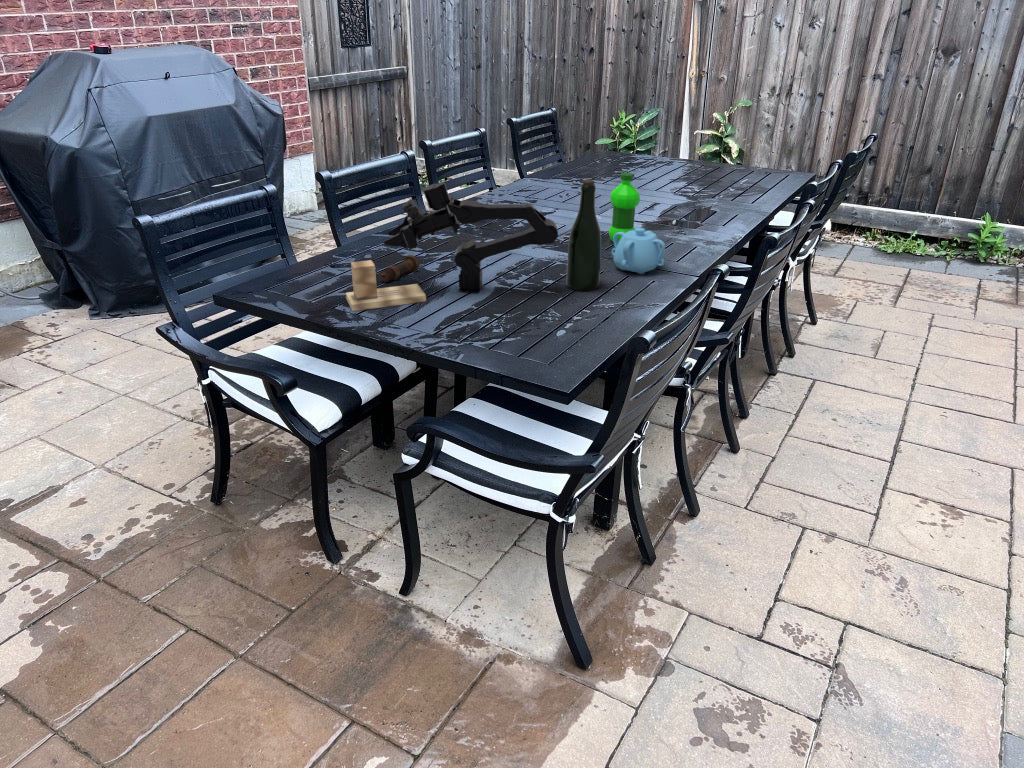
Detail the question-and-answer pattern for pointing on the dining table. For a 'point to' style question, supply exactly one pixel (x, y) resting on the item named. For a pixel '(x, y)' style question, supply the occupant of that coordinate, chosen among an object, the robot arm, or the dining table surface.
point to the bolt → (400, 268)
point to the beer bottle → (585, 244)
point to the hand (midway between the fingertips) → (386, 238)
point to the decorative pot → (638, 251)
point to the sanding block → (364, 280)
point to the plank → (388, 297)
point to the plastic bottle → (623, 206)
